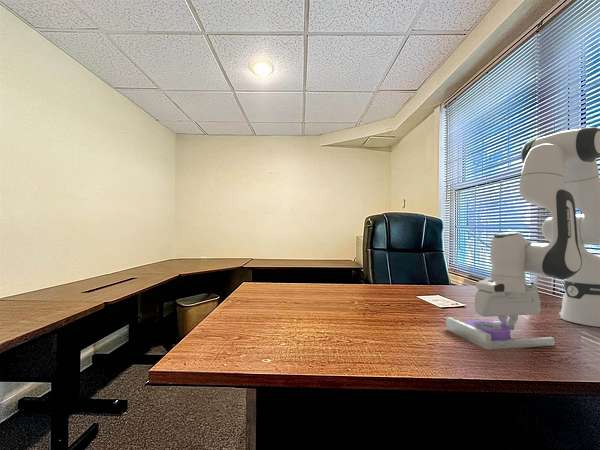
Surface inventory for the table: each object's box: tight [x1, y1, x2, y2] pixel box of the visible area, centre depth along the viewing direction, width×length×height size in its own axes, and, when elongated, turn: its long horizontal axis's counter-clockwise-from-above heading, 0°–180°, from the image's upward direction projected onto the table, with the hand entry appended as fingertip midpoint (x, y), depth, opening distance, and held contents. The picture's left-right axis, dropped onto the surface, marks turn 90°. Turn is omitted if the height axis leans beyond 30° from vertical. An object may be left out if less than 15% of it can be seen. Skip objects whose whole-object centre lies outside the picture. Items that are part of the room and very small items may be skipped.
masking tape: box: [464, 319, 511, 340], centre depth 92 cm, size 12×12×4 cm
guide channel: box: [445, 316, 556, 350], centre depth 93 cm, size 22×17×4 cm
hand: (508, 329), depth 93 cm, fingers closed
